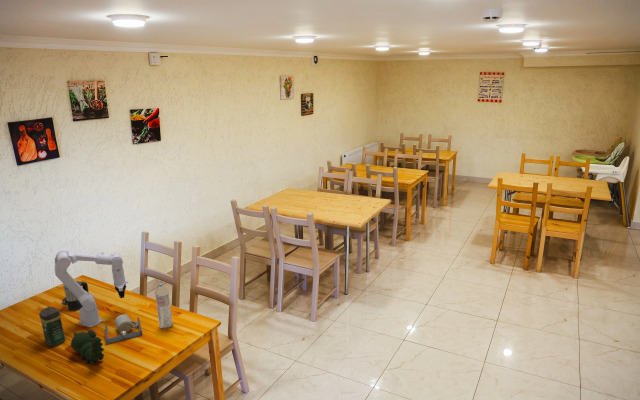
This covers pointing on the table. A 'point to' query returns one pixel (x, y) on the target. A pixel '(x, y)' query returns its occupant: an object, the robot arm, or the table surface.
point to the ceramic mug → (124, 323)
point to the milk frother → (73, 297)
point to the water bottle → (163, 307)
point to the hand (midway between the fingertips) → (122, 297)
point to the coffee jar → (52, 326)
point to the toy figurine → (88, 346)
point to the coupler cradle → (123, 334)
